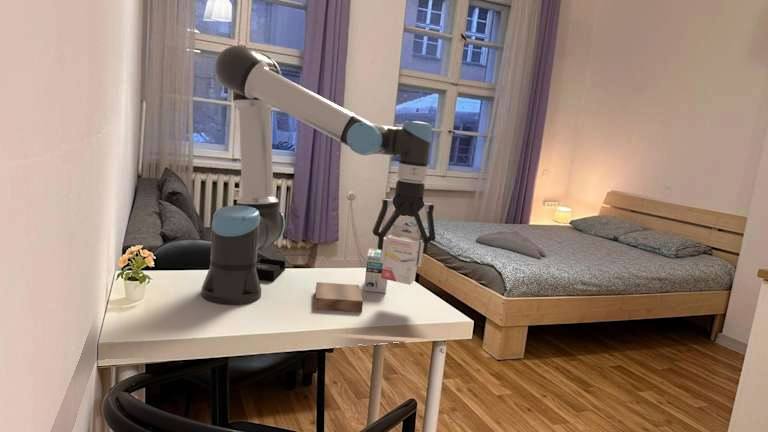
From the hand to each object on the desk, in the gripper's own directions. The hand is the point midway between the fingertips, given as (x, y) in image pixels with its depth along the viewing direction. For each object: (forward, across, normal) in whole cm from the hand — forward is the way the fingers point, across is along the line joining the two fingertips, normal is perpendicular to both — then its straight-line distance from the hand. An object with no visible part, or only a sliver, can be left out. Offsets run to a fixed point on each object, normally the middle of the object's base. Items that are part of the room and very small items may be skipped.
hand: (400, 263), depth 141 cm
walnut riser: (+12, -16, +1) cm, 20 cm away
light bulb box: (+13, -4, +17) cm, 21 cm away
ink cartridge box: (+5, 0, 0) cm, 5 cm away
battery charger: (+13, -37, +22) cm, 45 cm away
